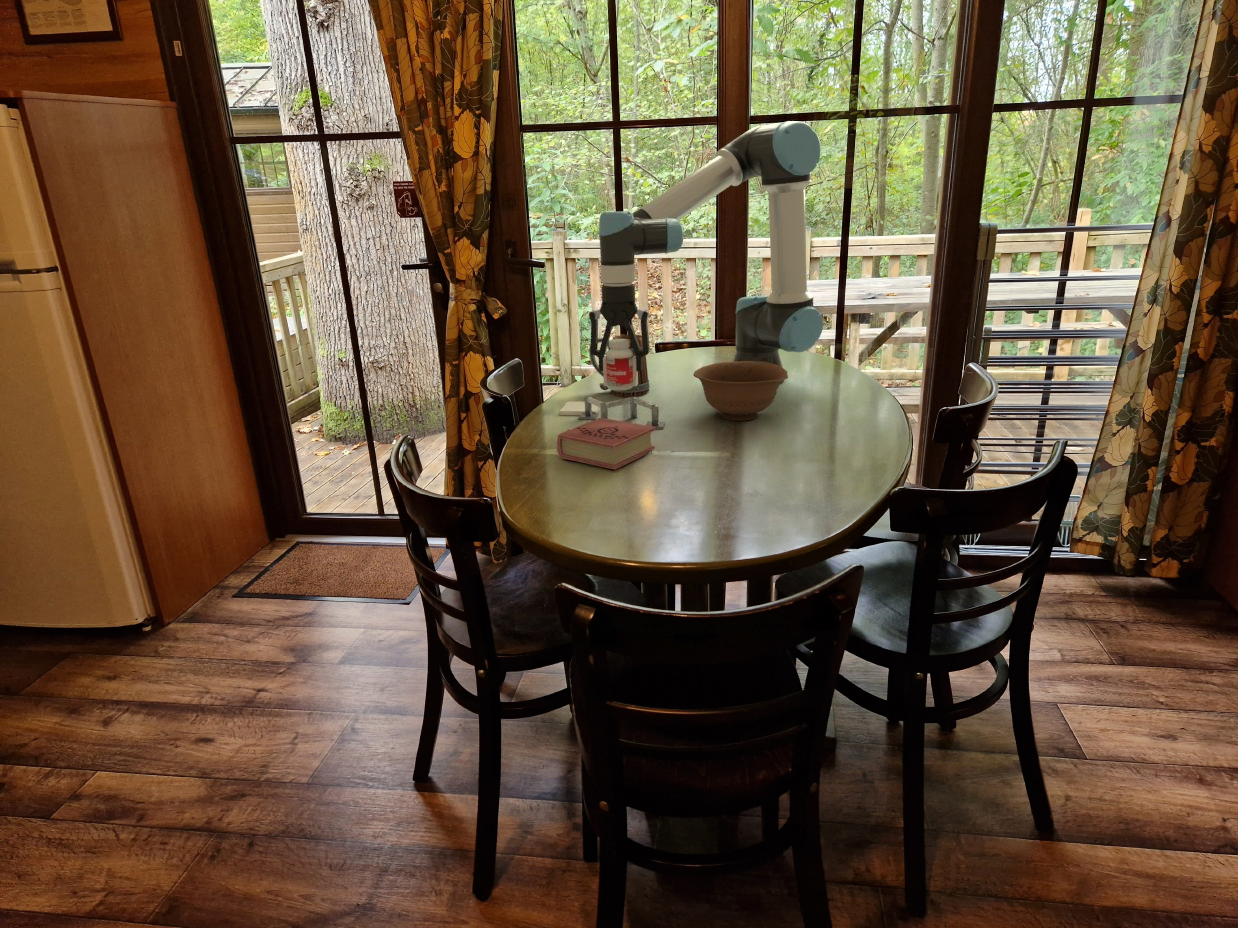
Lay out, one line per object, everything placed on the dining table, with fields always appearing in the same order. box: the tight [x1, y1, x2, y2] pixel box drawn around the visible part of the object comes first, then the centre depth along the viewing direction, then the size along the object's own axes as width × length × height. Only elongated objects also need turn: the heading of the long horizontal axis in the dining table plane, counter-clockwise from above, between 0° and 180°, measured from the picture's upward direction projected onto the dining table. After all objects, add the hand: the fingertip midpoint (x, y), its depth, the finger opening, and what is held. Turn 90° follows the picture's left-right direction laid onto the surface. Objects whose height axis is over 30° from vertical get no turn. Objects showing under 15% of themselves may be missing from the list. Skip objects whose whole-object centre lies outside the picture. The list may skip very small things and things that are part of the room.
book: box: [556, 417, 656, 470], centre depth 164 cm, size 14×15×5 cm
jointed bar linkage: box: [578, 395, 666, 430], centre depth 184 cm, size 21×11×5 cm, turn 81°
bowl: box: [693, 361, 789, 422], centre depth 185 cm, size 22×22×11 cm
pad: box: [559, 401, 601, 416], centre depth 196 cm, size 9×9×1 cm
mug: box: [589, 333, 651, 398], centre depth 209 cm, size 16×11×15 cm
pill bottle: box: [605, 338, 633, 391], centre depth 180 cm, size 6×6×11 cm
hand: (621, 384), depth 183 cm, fingers closed on pill bottle, 6 cm apart
